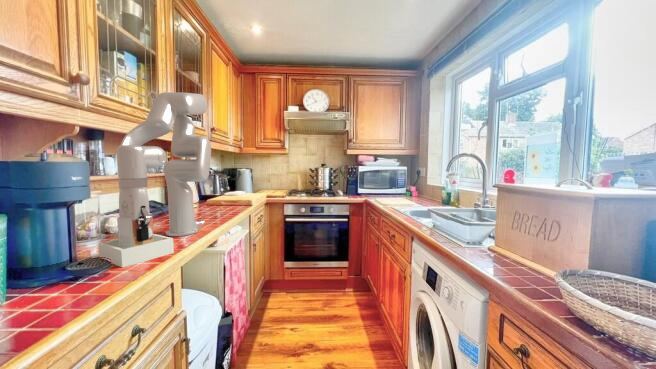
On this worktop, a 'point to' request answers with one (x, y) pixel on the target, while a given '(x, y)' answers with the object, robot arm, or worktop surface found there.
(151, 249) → the storage bin
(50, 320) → the worktop surface
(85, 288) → the worktop surface
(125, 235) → the small box
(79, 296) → the worktop surface
